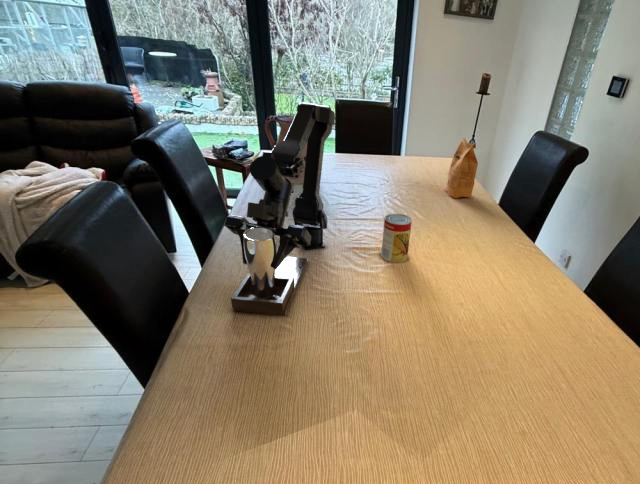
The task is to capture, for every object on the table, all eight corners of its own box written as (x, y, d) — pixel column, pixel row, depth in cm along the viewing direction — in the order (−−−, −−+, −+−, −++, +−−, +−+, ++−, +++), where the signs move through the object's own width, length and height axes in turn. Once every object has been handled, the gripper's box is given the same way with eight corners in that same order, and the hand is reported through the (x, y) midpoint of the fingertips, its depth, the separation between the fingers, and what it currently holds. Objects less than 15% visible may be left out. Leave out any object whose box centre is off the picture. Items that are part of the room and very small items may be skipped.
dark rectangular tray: (265, 259, 117) (264, 246, 115) (307, 262, 117) (307, 250, 115) (231, 313, 94) (229, 298, 92) (284, 318, 94) (283, 303, 92)
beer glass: (285, 292, 98) (282, 235, 90) (260, 303, 94) (254, 244, 85) (267, 279, 102) (263, 223, 93) (242, 290, 97) (235, 232, 89)
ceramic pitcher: (314, 189, 169) (313, 123, 155) (262, 185, 168) (256, 118, 154) (320, 176, 183) (320, 115, 170) (272, 172, 183) (268, 111, 169)
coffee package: (463, 189, 185) (473, 137, 173) (473, 199, 175) (484, 145, 163) (442, 189, 183) (450, 136, 171) (451, 199, 173) (460, 144, 161)
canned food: (412, 257, 125) (417, 219, 119) (395, 265, 120) (399, 226, 114) (393, 248, 129) (397, 211, 123) (375, 255, 124) (378, 217, 118)
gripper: (221, 179, 88) (202, 247, 86) (305, 191, 86) (288, 262, 84) (243, 202, 99) (226, 263, 97) (318, 213, 97) (303, 276, 94)
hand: (259, 266), depth 92 cm, fingers closed on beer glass, 7 cm apart
